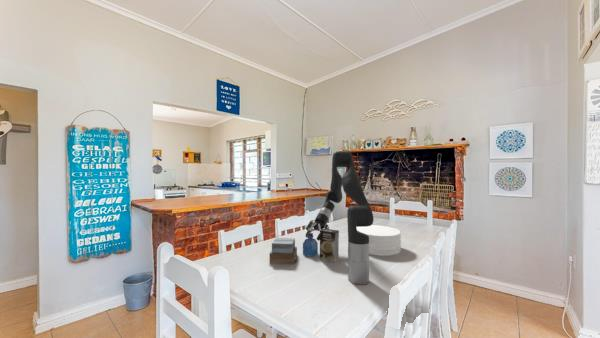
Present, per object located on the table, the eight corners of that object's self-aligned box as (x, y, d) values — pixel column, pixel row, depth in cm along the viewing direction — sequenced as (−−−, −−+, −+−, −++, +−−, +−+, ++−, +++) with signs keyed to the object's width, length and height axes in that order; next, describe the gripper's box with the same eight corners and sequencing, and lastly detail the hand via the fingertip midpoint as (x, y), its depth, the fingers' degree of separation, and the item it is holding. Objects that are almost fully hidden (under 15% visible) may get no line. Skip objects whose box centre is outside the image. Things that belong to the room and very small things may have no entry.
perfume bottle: (309, 251, 152) (309, 231, 152) (317, 253, 148) (317, 233, 148) (302, 254, 147) (302, 233, 147) (311, 256, 143) (311, 235, 143)
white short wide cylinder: (368, 239, 179) (368, 223, 179) (408, 248, 159) (408, 230, 159) (345, 248, 159) (345, 230, 159) (387, 259, 139) (387, 238, 139)
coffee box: (319, 260, 138) (319, 230, 138) (323, 256, 143) (323, 228, 143) (335, 262, 133) (335, 232, 133) (339, 259, 139) (339, 229, 139)
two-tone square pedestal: (293, 263, 132) (293, 244, 132) (269, 262, 133) (269, 243, 133) (296, 255, 145) (296, 238, 145) (274, 254, 146) (274, 237, 146)
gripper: (312, 211, 160) (300, 232, 151) (330, 214, 150) (318, 237, 142) (317, 218, 164) (305, 239, 155) (335, 221, 154) (324, 244, 146)
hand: (312, 238), depth 149 cm, fingers open, 8 cm apart
